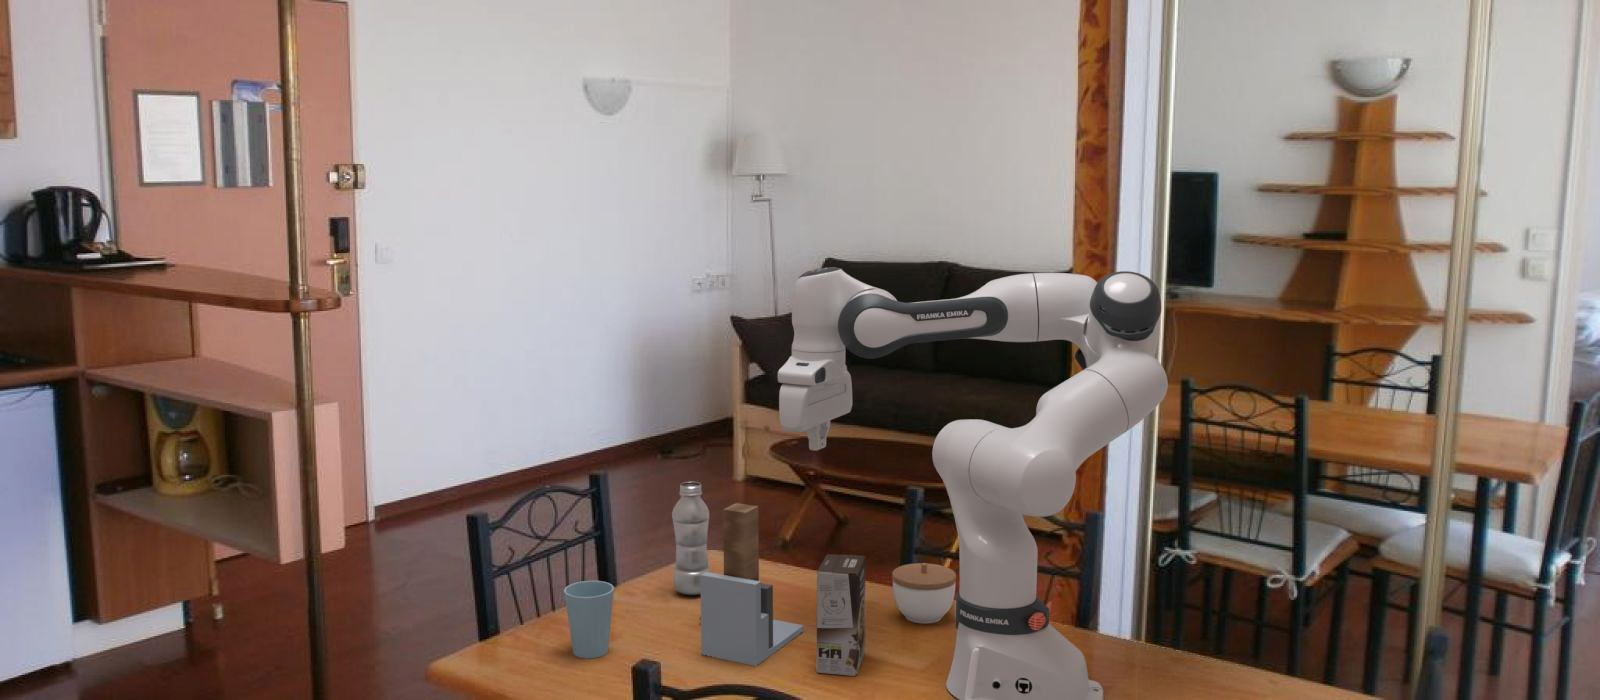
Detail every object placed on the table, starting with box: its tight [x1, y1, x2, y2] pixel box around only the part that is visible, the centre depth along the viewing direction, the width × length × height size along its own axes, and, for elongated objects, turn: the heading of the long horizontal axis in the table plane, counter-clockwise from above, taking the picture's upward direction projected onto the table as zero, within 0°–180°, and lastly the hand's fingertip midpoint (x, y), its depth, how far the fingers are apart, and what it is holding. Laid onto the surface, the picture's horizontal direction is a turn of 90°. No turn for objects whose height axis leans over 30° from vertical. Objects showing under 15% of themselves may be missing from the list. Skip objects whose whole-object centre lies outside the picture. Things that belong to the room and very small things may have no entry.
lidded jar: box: [891, 562, 957, 625], centre depth 211 cm, size 11×11×9 cm
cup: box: [563, 580, 615, 659], centre depth 196 cm, size 8×8×10 cm
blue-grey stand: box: [700, 572, 805, 667], centre depth 200 cm, size 10×16×13 cm, turn 153°
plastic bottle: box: [671, 481, 711, 596], centre depth 222 cm, size 6×7×20 cm
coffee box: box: [815, 553, 867, 677], centre depth 192 cm, size 9×6×16 cm
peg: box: [722, 502, 760, 581], centre depth 196 cm, size 4×4×22 cm
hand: (817, 448), depth 208 cm, fingers closed
